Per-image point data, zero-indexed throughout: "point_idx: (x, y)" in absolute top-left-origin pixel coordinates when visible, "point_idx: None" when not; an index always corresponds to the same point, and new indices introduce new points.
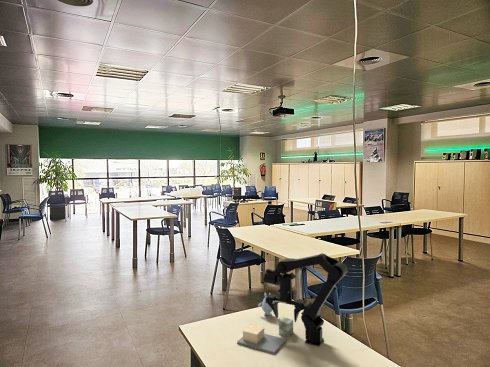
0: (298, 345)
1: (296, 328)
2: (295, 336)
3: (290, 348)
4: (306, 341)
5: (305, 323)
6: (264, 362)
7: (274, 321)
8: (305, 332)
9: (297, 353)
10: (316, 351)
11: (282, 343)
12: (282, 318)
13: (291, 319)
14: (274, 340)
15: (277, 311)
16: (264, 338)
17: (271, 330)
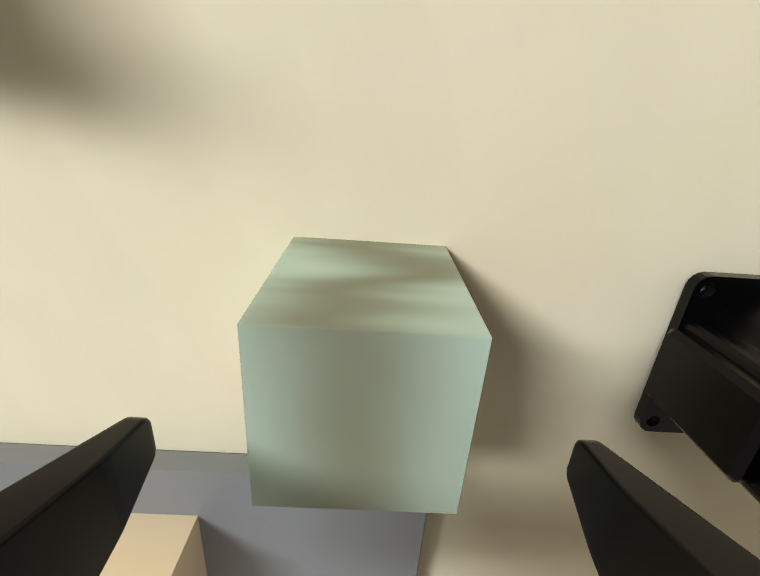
0: (565, 478)
1: (464, 115)
2: (501, 339)
3: (501, 536)
4: (650, 410)
5: None
6: None
7: (10, 10)
8: (701, 449)
9: (574, 570)
10: (743, 501)
11: (420, 541)
12: (251, 380)
13: (456, 348)
14: (329, 536)
15: (34, 557)
16: (221, 540)
17: (166, 321)
